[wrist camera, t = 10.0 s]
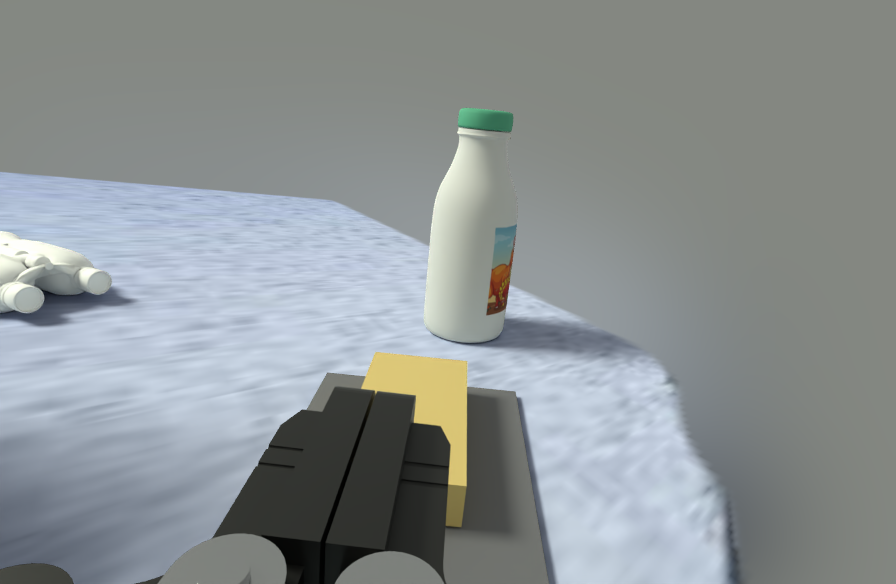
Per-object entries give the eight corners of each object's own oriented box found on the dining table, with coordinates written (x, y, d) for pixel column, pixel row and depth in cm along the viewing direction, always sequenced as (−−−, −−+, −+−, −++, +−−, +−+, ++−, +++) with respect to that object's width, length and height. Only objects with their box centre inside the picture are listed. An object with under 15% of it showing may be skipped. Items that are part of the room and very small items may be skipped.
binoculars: (24, 266, 55) (17, 224, 54) (126, 297, 50) (121, 251, 48) (-106, 291, 46) (-120, 240, 45) (1, 333, 41) (-11, 277, 39)
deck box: (466, 486, 24) (467, 361, 36) (327, 471, 24) (375, 352, 36) (461, 529, 25) (463, 393, 37) (326, 516, 25) (373, 383, 37)
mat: (561, 672, 19) (563, 664, 19) (187, 633, 19) (186, 625, 19) (514, 396, 38) (515, 391, 38) (327, 377, 38) (327, 372, 38)
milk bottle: (458, 352, 44) (485, 107, 38) (406, 321, 50) (422, 103, 43) (519, 335, 49) (551, 116, 43) (466, 309, 55) (488, 111, 48)
